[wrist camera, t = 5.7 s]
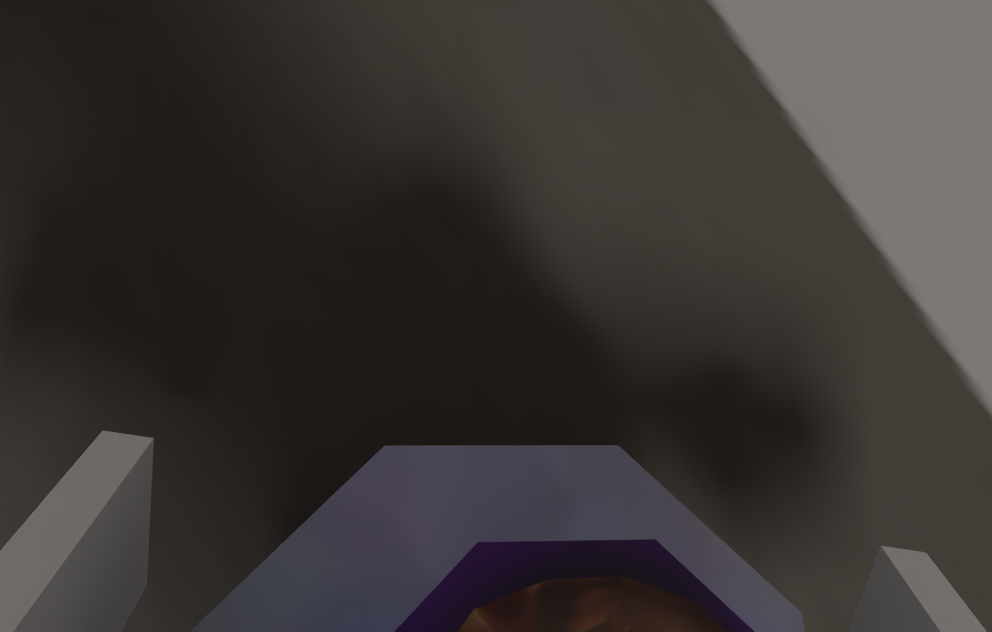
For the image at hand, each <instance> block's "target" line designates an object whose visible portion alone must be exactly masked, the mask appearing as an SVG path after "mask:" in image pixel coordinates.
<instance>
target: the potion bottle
mask: <svg viewBox="0 0 992 632" xmlns="http://www.w3.org/2000/svg"><path fill="white" fill-rule="evenodd" d="M191 632H805V630H804V624H803V618H802V613H801V612H800V611H799V610H798V609H797V608H796V607H795V606H794V605H792V604H791V603H790V602H789V601H788V600H787V599H786V598H785V597H784V596H783V595H782V594H780V593H779V592H778V591H777V590H776V589H775V588H774V587H773V586H772V585H771V584H769V583H768V582H767V581H766V580H765V579H764V578H763V577H762V576H761V575H760V574H759V573H757V572H756V571H755V570H754V569H753V568H752V567H751V566H750V565H749V564H748V563H746V562H745V561H744V560H743V559H742V558H741V557H740V556H739V555H738V554H737V553H736V552H734V551H733V550H732V549H731V548H730V547H729V546H728V545H727V544H726V543H725V542H723V541H722V540H721V539H720V538H719V537H718V536H717V535H716V534H715V533H714V532H713V531H711V530H710V529H709V528H708V527H707V526H706V525H705V524H704V523H703V522H702V521H700V520H699V519H698V518H697V517H696V516H695V515H694V514H693V513H692V512H691V511H690V510H688V509H687V508H686V507H685V506H684V505H683V504H682V503H681V502H680V501H679V500H677V499H676V498H675V497H674V496H673V495H672V494H671V493H670V492H669V491H668V490H667V489H665V488H664V487H663V486H662V485H661V484H660V483H659V482H658V481H657V480H656V479H655V478H653V477H652V476H651V475H650V474H649V473H648V472H647V471H646V470H645V469H644V468H642V467H641V466H640V465H639V464H638V463H637V462H636V461H635V460H634V459H633V458H632V457H630V456H629V455H628V454H627V453H626V452H625V451H624V450H623V449H622V448H621V447H619V446H618V445H430V446H384V447H383V448H381V449H380V450H379V451H378V452H377V453H376V454H375V455H374V456H373V457H372V458H371V459H370V460H369V461H368V462H367V463H366V464H365V465H364V466H363V467H362V468H361V469H360V470H358V471H357V472H356V473H355V474H354V475H353V476H352V477H351V478H350V479H349V480H348V481H347V482H346V483H345V484H344V485H343V486H342V487H341V488H340V489H339V490H338V491H336V492H335V493H334V494H333V495H332V496H331V497H330V498H329V499H328V500H327V501H326V502H325V503H324V504H323V505H322V506H321V507H320V508H319V509H318V510H317V511H316V512H315V513H313V514H312V515H311V516H310V517H309V518H308V519H307V520H306V521H305V522H304V523H303V524H302V525H301V526H300V527H299V528H298V529H297V530H296V531H295V532H294V533H293V534H292V535H290V536H289V537H288V538H287V539H286V540H285V541H284V542H283V543H282V544H281V545H280V546H279V547H278V548H277V549H276V550H275V551H274V552H273V553H272V554H271V555H270V556H268V557H267V558H266V559H265V560H264V561H263V562H262V563H261V564H260V565H259V566H258V567H257V568H256V569H255V570H254V571H253V572H252V573H251V574H250V575H249V576H248V577H247V578H245V579H244V580H243V581H242V582H241V583H240V584H239V585H238V586H237V587H236V588H235V589H234V590H233V591H232V592H231V593H230V594H229V595H228V596H227V597H226V598H225V599H224V600H222V601H221V602H220V603H219V604H218V605H217V606H216V607H215V608H214V609H213V610H212V611H211V612H210V613H209V614H208V615H207V616H206V617H205V618H204V619H203V620H202V621H200V622H199V623H198V624H197V625H196V626H195V627H194V628H193V629H192V631H191Z"/></svg>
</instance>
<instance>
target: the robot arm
mask: <svg viewBox="0 0 992 632" xmlns="http://www.w3.org/2000/svg"><path fill="white" fill-rule="evenodd" d="M153 445H154V438H149V437H143V436H136V435H129V434H122V433H116V432H109V431H102V432H101V433H100V434H99V435H98V437H97V438H96V439H95V440H94V441H93V443H92V444H91V445H90V446H89V447H88V448H87V450H86V451H85V452H84V453H83V454H82V455H81V457H80V458H79V459H78V460H77V461H76V462H75V464H74V465H73V466H72V467H71V468H70V470H69V471H68V472H67V473H66V474H65V475H64V477H63V478H62V479H61V480H60V481H59V482H58V484H57V485H56V486H55V487H54V488H53V489H52V491H51V492H50V493H49V494H48V495H47V496H46V498H45V499H44V500H43V501H42V502H41V504H40V505H39V506H38V507H37V508H36V509H35V511H34V512H33V513H32V514H31V515H30V516H29V518H28V519H27V520H26V521H25V522H24V523H23V525H22V526H21V527H20V528H19V529H18V531H17V532H16V533H15V534H14V535H13V536H12V538H11V539H10V540H9V541H8V542H7V543H6V545H5V546H4V547H3V548H2V549H1V550H0V632H121V631H122V630H123V628H124V626H125V624H126V622H127V621H128V619H129V617H130V615H131V614H132V612H133V610H134V608H135V606H136V605H137V603H138V601H139V599H140V598H141V596H142V594H143V592H144V590H145V589H146V587H147V572H148V551H149V529H150V508H151V487H152V466H153ZM848 632H986V630H985V629H984V628H983V626H982V625H981V624H980V622H979V621H978V620H977V618H976V617H975V616H974V615H973V613H972V612H971V611H970V609H969V608H968V607H967V605H966V604H965V603H964V602H963V600H962V599H961V598H960V596H959V595H958V594H957V592H956V591H955V590H954V588H953V587H952V586H951V585H950V583H949V582H948V581H947V579H946V578H945V577H944V575H943V574H942V573H941V572H940V570H939V569H938V568H937V566H936V565H935V564H934V562H933V561H932V560H931V558H930V557H929V556H928V555H927V553H925V552H918V551H912V550H905V549H898V548H891V547H885V546H881V547H880V550H879V552H878V555H877V557H876V560H875V562H874V565H873V568H872V570H871V573H870V575H869V578H868V580H867V583H866V586H865V588H864V591H863V593H862V596H861V598H860V601H859V604H858V606H857V609H856V611H855V614H854V616H853V619H852V622H851V624H850V627H849V629H848Z"/></svg>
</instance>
